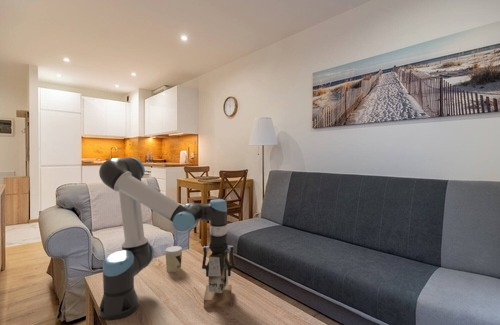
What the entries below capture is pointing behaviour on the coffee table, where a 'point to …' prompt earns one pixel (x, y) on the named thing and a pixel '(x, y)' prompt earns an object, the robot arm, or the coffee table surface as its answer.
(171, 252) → the coffee cup
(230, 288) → the walnut block
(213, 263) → the coffee box
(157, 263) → the coffee table surface
